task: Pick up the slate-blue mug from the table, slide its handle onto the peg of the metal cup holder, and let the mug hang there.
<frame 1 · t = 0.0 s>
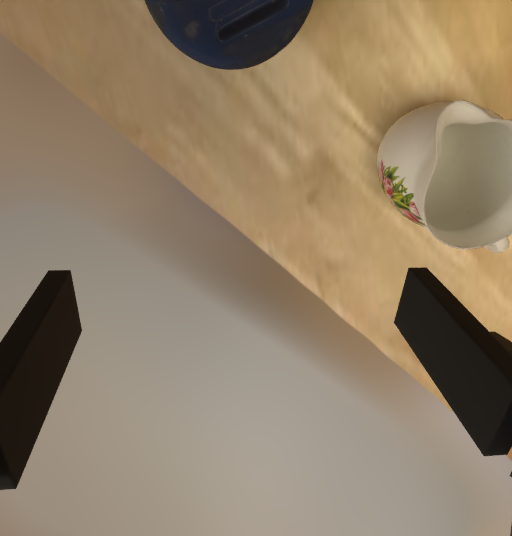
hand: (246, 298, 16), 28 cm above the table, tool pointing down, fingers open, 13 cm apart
pitcher: (415, 156, 44), on the table
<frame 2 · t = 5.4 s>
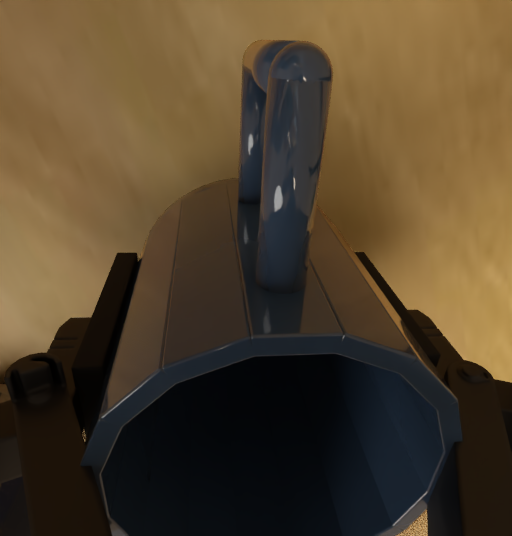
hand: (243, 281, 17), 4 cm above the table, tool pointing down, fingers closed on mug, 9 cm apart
canister: (5, 425, 25), on the table
mug: (243, 275, 18), point 4 cm above the table, touching gripper
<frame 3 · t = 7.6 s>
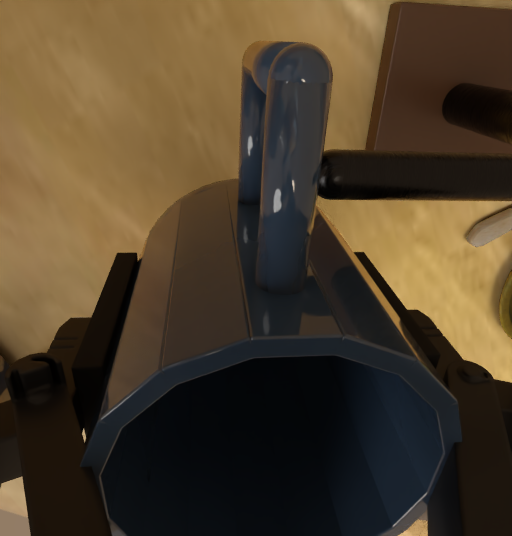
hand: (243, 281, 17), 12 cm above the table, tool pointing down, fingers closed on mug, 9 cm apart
cup holder: (448, 101, 26), on the table
mug: (243, 276, 18), point 12 cm above the table, touching gripper
when the fingers open (11 cm above the table, at t = 10.3 s): mug drops 2 cm and tips over, resting on cup holder.
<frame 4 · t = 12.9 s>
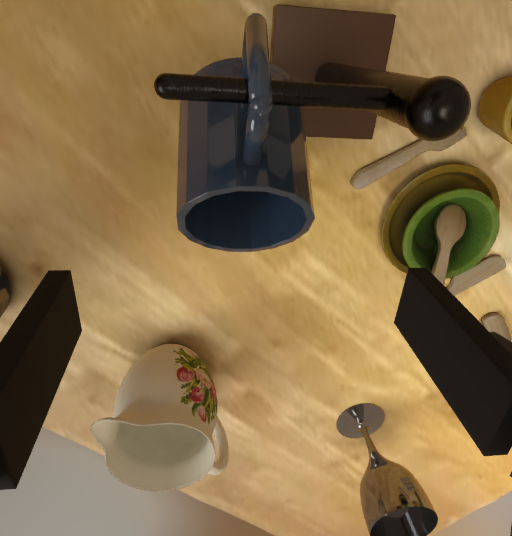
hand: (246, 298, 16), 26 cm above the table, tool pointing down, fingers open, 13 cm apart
pitcher: (176, 367, 51), on the table
wine glass: (360, 420, 60), on the table
cup holder: (324, 76, 37), on the table
mug: (241, 107, 30), point 8 cm above the table, tilted 39°, touching cup holder
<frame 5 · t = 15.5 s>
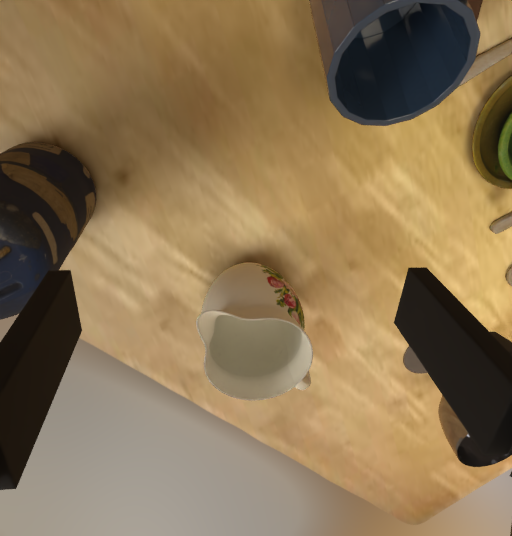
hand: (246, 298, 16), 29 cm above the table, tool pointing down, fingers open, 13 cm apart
pitcher: (251, 291, 50), on the table
wine glass: (426, 353, 59), on the table
canister: (51, 186, 42), on the table
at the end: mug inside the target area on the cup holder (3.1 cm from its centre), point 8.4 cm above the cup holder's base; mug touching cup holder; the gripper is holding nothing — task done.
